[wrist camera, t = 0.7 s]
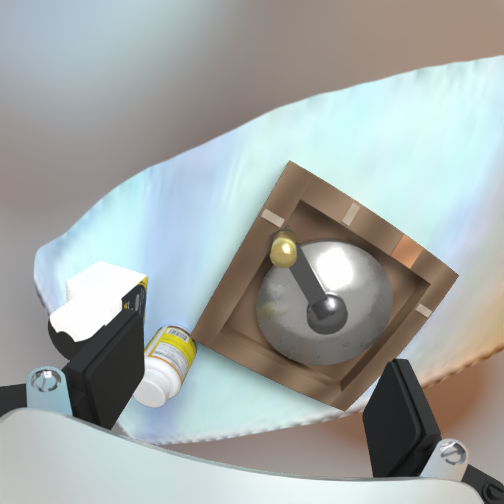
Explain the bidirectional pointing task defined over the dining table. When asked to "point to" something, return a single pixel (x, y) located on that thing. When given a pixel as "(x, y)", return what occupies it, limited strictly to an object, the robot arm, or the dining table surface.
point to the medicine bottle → (95, 304)
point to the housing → (306, 228)
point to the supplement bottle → (165, 365)
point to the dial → (322, 299)
